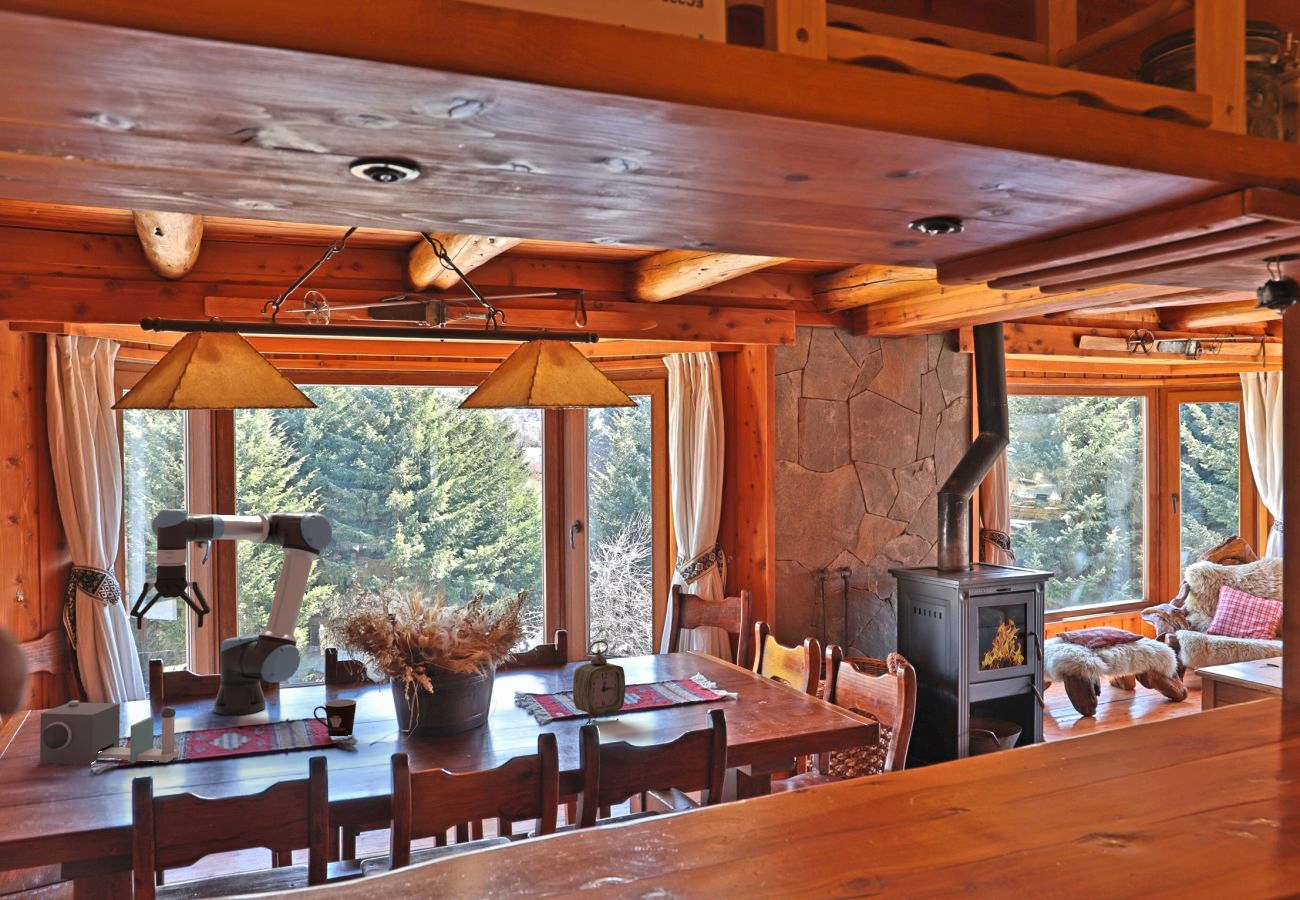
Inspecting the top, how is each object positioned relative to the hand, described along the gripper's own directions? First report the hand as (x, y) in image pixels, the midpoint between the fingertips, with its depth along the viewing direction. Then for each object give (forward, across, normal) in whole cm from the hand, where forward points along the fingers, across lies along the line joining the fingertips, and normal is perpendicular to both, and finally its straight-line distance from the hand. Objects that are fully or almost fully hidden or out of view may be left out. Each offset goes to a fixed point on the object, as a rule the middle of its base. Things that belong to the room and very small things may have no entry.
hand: (170, 640), depth 280 cm
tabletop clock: (+29, +122, -8) cm, 125 cm away
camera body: (+29, -20, -9) cm, 36 cm away
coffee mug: (+29, +45, -5) cm, 54 cm away
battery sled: (+28, -5, -15) cm, 32 cm away
